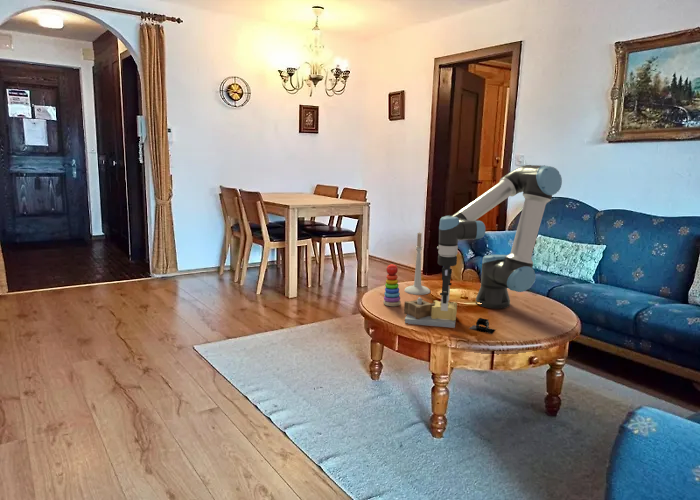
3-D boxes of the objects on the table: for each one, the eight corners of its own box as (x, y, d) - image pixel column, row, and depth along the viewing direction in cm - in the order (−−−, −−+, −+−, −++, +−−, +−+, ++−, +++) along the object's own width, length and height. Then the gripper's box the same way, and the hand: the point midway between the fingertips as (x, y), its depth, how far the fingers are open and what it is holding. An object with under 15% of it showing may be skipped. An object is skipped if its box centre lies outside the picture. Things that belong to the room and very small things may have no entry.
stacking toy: (400, 302, 233) (401, 262, 229) (400, 307, 225) (401, 266, 221) (383, 301, 233) (384, 262, 230) (383, 306, 226) (383, 266, 222)
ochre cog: (456, 313, 211) (457, 301, 210) (455, 320, 201) (456, 309, 200) (432, 311, 213) (433, 300, 212) (431, 318, 203) (431, 307, 202)
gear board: (455, 316, 213) (457, 295, 211) (454, 327, 200) (455, 305, 198) (408, 312, 217) (409, 291, 216) (404, 323, 204) (405, 301, 202)
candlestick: (410, 286, 259) (412, 229, 253) (433, 290, 253) (436, 231, 247) (400, 292, 249) (402, 232, 243) (424, 296, 242) (427, 235, 236)
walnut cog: (420, 309, 216) (421, 298, 215) (435, 315, 208) (436, 304, 207) (402, 313, 211) (402, 301, 210) (417, 319, 203) (417, 308, 202)
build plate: (464, 330, 199) (464, 319, 198) (470, 324, 205) (471, 314, 204) (494, 336, 192) (495, 325, 191) (500, 331, 198) (501, 320, 197)
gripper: (440, 248, 214) (437, 296, 219) (436, 261, 191) (433, 314, 195) (457, 249, 213) (455, 297, 217) (456, 262, 189) (453, 315, 193)
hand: (445, 305), depth 206 cm, fingers open, 13 cm apart
